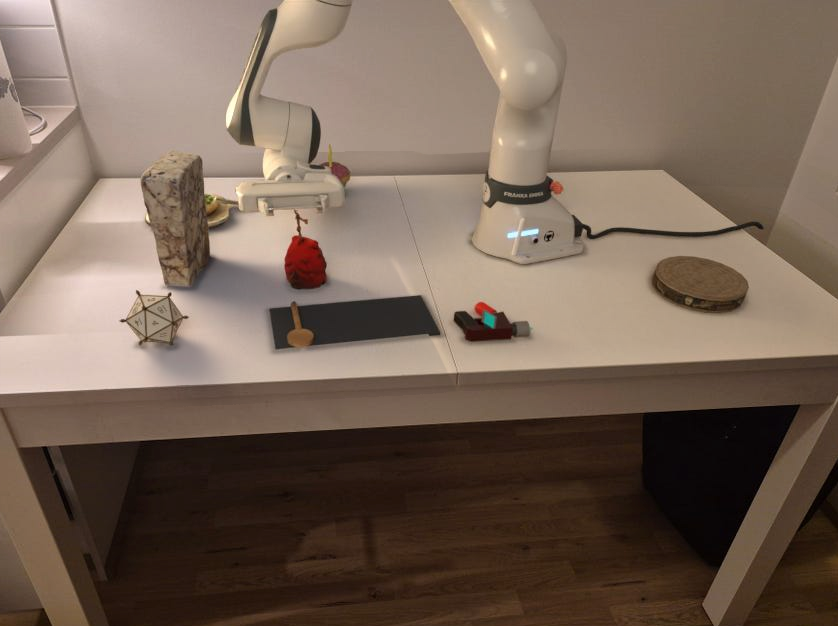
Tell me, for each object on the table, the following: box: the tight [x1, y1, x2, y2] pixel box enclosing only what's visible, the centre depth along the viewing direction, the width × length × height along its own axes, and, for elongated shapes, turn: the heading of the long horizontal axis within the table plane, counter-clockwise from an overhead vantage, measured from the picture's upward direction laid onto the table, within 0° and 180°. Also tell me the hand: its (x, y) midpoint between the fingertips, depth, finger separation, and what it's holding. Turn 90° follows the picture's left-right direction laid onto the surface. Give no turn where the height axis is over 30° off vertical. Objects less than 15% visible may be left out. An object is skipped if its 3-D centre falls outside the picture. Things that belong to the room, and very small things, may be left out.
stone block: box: [139, 150, 212, 288], centre depth 112 cm, size 13×7×20 cm, turn 2°
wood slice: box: [651, 255, 750, 314], centre depth 119 cm, size 16×16×3 cm
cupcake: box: [319, 143, 351, 189], centre depth 146 cm, size 9×8×12 cm
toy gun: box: [453, 301, 534, 342], centre depth 105 cm, size 10×12×5 cm
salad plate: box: [144, 193, 239, 229], centre depth 136 cm, size 19×18×5 cm
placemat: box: [268, 294, 441, 350], centre depth 106 cm, size 26×12×1 cm, turn 104°
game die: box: [119, 289, 190, 346], centre depth 97 cm, size 9×8×10 cm
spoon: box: [287, 300, 314, 348], centre depth 103 cm, size 12×4×1 cm, turn 14°
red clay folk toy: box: [283, 209, 328, 290], centre depth 111 cm, size 8×7×15 cm
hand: (295, 211), depth 120 cm, fingers open, 8 cm apart
